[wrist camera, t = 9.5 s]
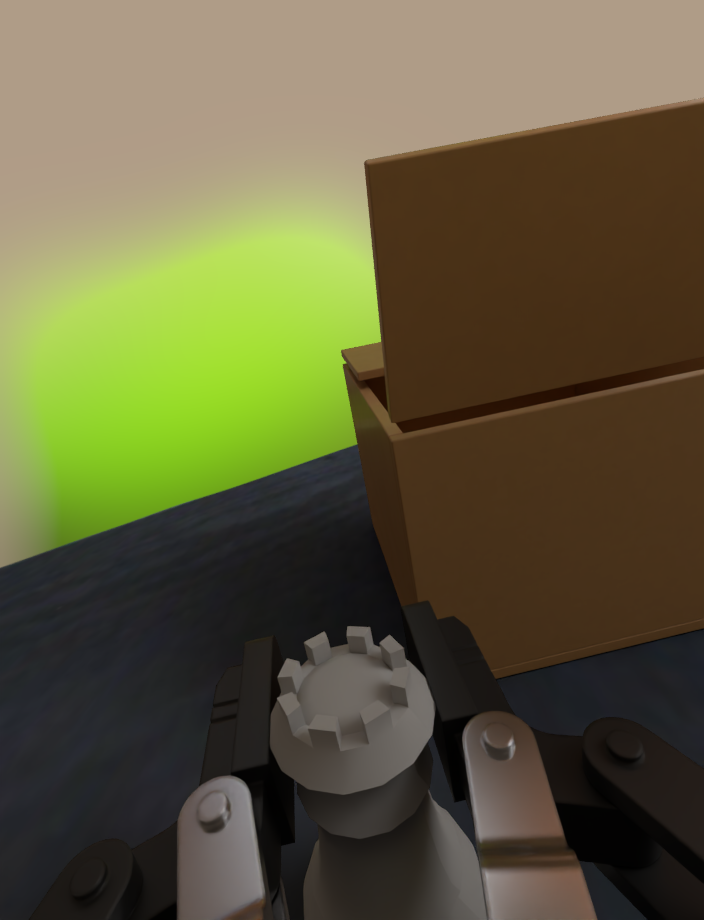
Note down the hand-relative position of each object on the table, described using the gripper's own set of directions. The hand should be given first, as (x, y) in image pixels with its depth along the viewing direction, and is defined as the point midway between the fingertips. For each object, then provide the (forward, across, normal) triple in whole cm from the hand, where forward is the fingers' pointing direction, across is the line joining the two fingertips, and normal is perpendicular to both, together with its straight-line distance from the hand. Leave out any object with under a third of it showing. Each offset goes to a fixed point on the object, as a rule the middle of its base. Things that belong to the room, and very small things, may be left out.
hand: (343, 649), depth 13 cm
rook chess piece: (-3, 0, +6) cm, 7 cm away
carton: (+11, -10, +7) cm, 16 cm away
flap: (+3, -10, -8) cm, 13 cm away
